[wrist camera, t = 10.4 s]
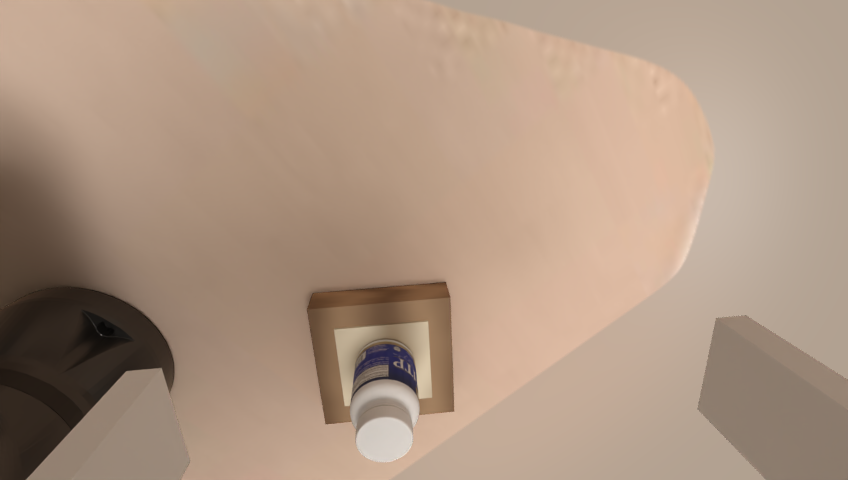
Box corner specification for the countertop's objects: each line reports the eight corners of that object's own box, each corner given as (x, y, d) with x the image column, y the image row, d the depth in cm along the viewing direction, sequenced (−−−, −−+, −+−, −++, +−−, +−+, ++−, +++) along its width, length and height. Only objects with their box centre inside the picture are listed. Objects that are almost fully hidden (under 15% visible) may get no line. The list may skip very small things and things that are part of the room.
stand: (329, 401, 42) (325, 425, 39) (312, 293, 38) (306, 310, 35) (449, 390, 43) (454, 412, 40) (445, 282, 39) (450, 298, 36)
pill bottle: (425, 372, 38) (436, 450, 30) (374, 397, 39) (370, 481, 30) (396, 327, 36) (399, 397, 28) (343, 354, 37) (331, 431, 29)
